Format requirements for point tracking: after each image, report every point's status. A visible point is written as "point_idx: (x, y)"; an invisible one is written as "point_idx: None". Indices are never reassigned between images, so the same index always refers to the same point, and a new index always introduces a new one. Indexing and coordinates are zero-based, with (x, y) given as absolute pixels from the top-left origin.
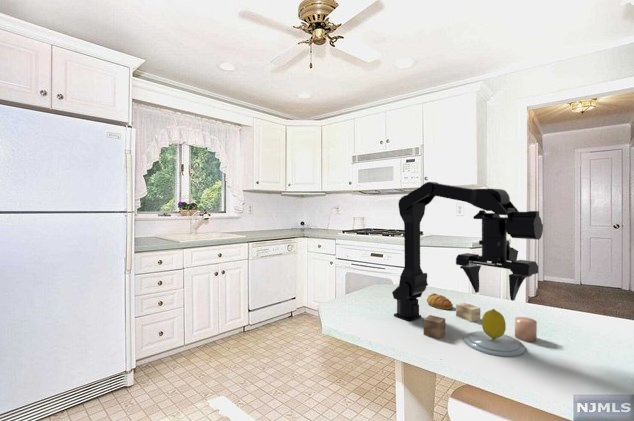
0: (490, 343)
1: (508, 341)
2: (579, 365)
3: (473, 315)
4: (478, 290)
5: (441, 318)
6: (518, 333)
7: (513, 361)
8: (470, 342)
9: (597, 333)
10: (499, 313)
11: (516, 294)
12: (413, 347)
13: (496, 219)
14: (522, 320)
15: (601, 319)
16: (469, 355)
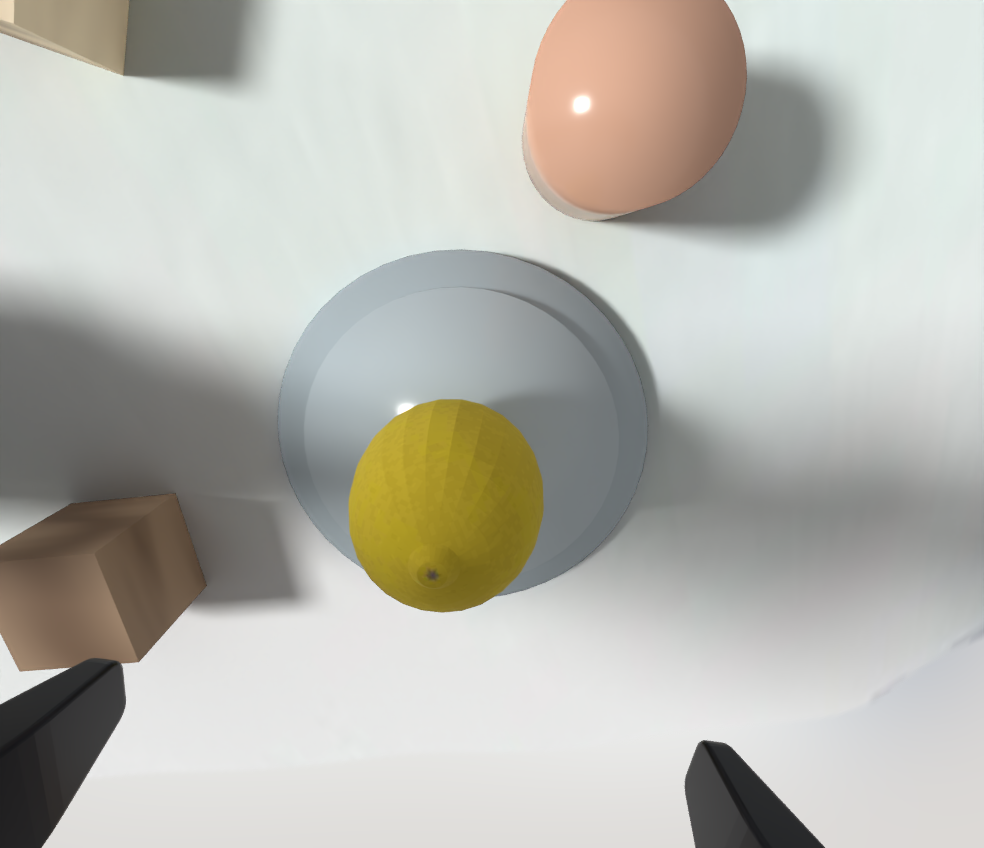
0: None
1: (546, 411)
2: (930, 388)
3: (77, 15)
4: (100, 697)
5: (77, 573)
6: (567, 209)
7: (619, 583)
8: None
9: None
10: (496, 556)
11: (808, 843)
12: (200, 752)
13: None
14: (612, 137)
15: None
16: (430, 661)
